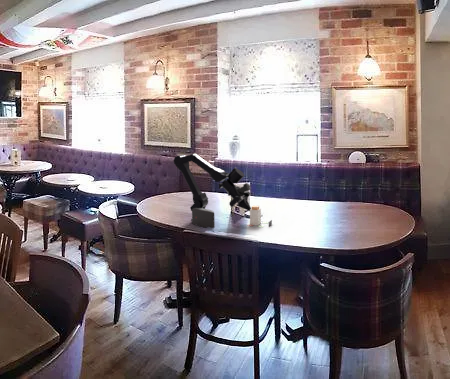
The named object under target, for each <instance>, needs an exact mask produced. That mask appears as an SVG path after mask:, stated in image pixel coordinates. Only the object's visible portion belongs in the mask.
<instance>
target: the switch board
mask: <svg viewBox="0 0 450 379" xmlns="http://www.w3.org/2000/svg"><path fill="white" fill-rule="evenodd" d="M272 222H273V220H272V219H270V221H263V222H262V224H268V227H271V225H273V223H272ZM254 226H255V225H251V224H250V223H249V224H247V227H254ZM256 226H257V228H264V227H265V225H260V224H259V225H256Z"/></svg>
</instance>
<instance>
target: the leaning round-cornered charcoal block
mask: <svg viewBox="0 0 450 379" xmlns="http://www.w3.org/2000/svg"><path fill="white" fill-rule="evenodd" d="M191 219H192V220H191V221H192V222H191V224H192V225H194V226H197V227H201V228H205V229H207V228H215V212H214V211H213V210H211V209H208V208H205V209H203V208H193V209H192V211H191Z"/></svg>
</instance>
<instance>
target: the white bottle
mask: <svg viewBox="0 0 450 379" xmlns="http://www.w3.org/2000/svg"><path fill="white" fill-rule="evenodd" d="M261 214H262V208H260V205H252V206H251V209H250V211H249V224H250V225H254V226H259V225H260V224H262V223H261V222H262V221H261V220H262V219H261V218H262V215H261Z"/></svg>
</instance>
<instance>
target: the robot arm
mask: <svg viewBox="0 0 450 379" xmlns="http://www.w3.org/2000/svg"><path fill="white" fill-rule="evenodd" d="M190 162H192V163H194V164H195V165H196V166H198V167H200V168H201V169H202V170H204V171H205V172H206V173H208V174H209V176H210V177H211V179H212V180H213V181H214V182H217V183H218V189H222V188H223V189H224V190H225V192H227V196H228V197H231V198H232V199H231V200H230V201H229V203H228V204H229V206H230V207H231V208H234V207H235V205H236V204H237V205H236V207H239V208H241V209H243V210H246V211H249V212H250V209H252V206H251V205H250V202H249V201H248V200H249V197H250V196H251V195H252V192H250V191H251V184H248V183H244V184H242V186H237V185H236V184H238V183H239V182H240V181H241V180H242V179H243V178H244V177H245V174H244V173H243V172H244V171H242V170H240V169H238V168H237V167H233V169H232V170H231V171H230V172H226V171H225V170H223V169H221V168H218V167H216V166H213V164H212V163H209V162H208V161H206V160H205V159H203V158H202V157H201V156H199V155H198V154H197V153H192V154H189V155H185V154H181V155H176V156H175V157H174V159H173V164H174V165H175V168H177V169H178V170H179V172H180V173H181V174H182V176H183V177H184V179H185V182H186V184H187V185H188V187H189V190H190V192H191V194H192V201H193V203H192V205H191V206H190V208H189V209H190V211H191V212H192V209H193V208H203V209H206V207H207V206H208V205H209V198H208V196H207V194H206V192H202V191H201V189H200V188H199V185H198V183H197V181H196V179H195V176H194V175H193V173H192V171H191V169H190ZM220 182H221V183H220ZM190 220H191V221H192V218H190Z"/></svg>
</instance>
